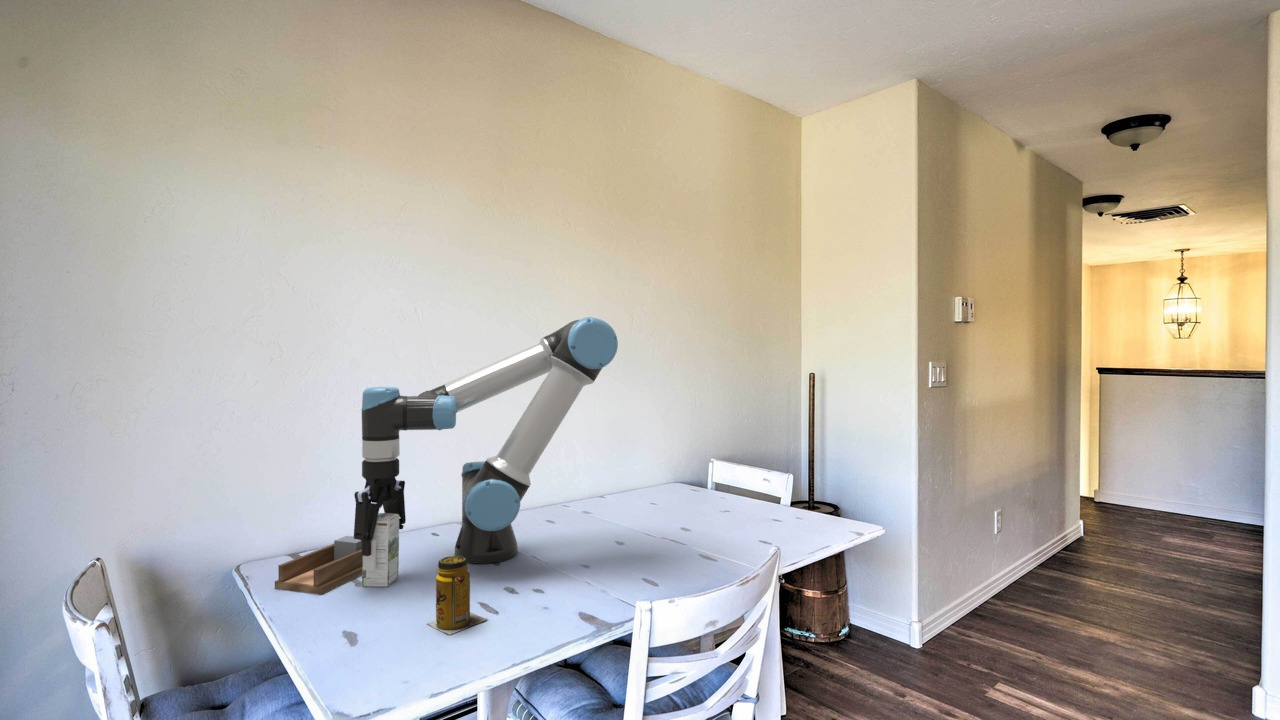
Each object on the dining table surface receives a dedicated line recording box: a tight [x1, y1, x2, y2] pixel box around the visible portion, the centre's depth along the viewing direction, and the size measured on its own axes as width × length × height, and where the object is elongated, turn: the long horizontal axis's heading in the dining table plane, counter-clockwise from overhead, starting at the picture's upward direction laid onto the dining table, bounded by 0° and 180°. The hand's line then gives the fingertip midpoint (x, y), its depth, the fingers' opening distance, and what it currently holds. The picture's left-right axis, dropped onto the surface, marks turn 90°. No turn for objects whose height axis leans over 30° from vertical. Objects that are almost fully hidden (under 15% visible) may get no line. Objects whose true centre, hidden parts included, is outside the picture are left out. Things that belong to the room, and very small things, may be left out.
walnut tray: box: [274, 543, 362, 596], centre depth 144 cm, size 12×19×5 cm, turn 164°
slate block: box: [333, 535, 362, 561], centre depth 150 cm, size 6×4×5 cm, turn 74°
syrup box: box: [361, 512, 400, 588], centre depth 140 cm, size 6×6×14 cm
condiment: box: [426, 555, 488, 636], centre depth 120 cm, size 7×8×12 cm
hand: (380, 564), depth 140 cm, fingers closed on syrup box, 7 cm apart
